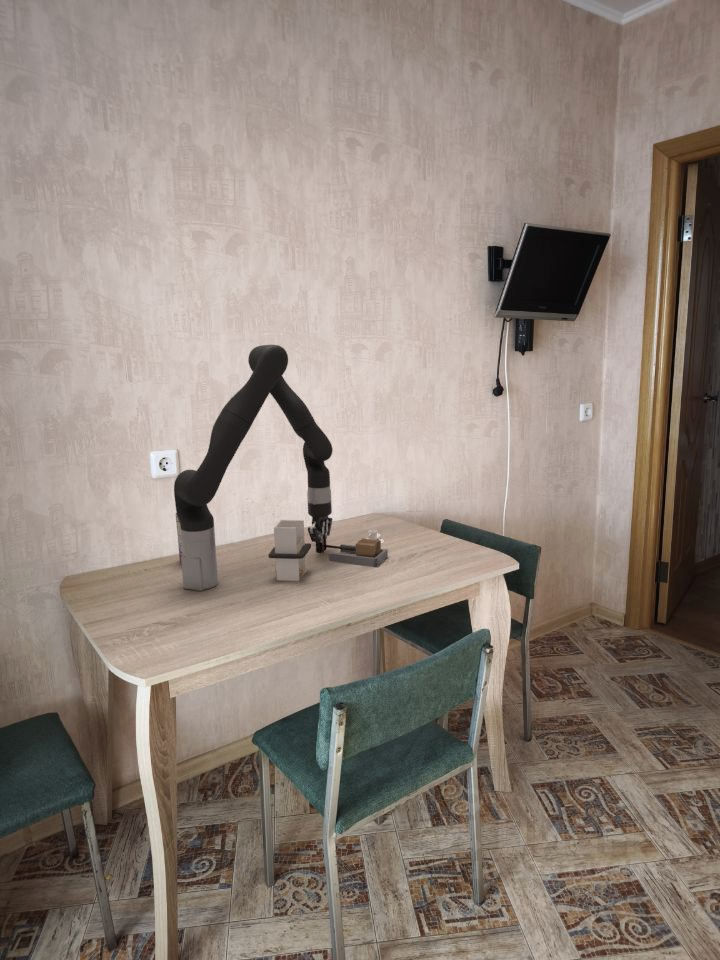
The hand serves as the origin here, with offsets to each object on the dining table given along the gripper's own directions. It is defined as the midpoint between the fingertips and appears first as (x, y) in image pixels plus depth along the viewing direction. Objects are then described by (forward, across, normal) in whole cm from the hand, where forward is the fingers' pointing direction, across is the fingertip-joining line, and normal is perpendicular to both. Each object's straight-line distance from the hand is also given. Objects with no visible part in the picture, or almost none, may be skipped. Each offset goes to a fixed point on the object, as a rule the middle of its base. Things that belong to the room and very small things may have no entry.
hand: (321, 551), depth 213 cm
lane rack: (+1, 0, +13) cm, 13 cm away
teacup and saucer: (+2, -19, +13) cm, 23 cm away
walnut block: (+1, 0, +9) cm, 9 cm away
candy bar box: (+1, +21, -33) cm, 39 cm away
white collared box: (+2, +20, 0) cm, 20 cm away
